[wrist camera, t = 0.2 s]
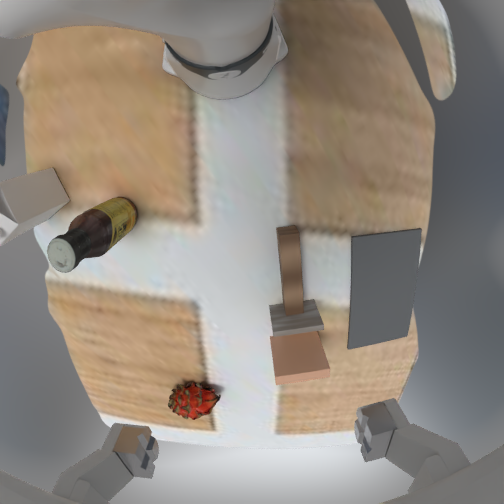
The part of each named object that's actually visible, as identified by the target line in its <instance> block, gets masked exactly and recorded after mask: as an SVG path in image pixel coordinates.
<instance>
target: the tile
mask: <svg viewBox="0 0 504 504" xmlns="http://www.w3.org/2000/svg"><path fill="white" fill-rule="evenodd" d="M270 341H271V349H272V357H273V365H274V373H275V381H276V385H280V384H288V383H295V382H302V381H308V380H314V379H320V378H326V377H330V367H329V364H328V361H327V358H326V355H325V352H324V349H323V346H322V344H321V341H320V338H319V335H318V332H317V331H313V332H306V333H299V334H292V335H285V336H277V337H274V336H270Z"/></svg>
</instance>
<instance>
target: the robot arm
mask: <svg viewBox="0 0 504 504" xmlns="http://www.w3.org/2000/svg"><path fill="white" fill-rule="evenodd" d="M274 5H275V0H0V37H4V38H11V39H13V38H22V37H26V36H29V35H32V34H36V33H40V32H44V31H48V30H52V29H58V28H64V27H72V26H109V27H118V28H125V29H131V30H137V31H142V32H147V33H151V34H155V35H158V36H160V37H161V38H162V40H163V43H165V48H164V53H163V54H164V56H163V64H162V66H163V69H164V71H165V72H167V73H168V74H170V75H173V76H176V77H179V78H180V79H182V80H183V81H184V82H185V83H186V84H187V85H188V86H189V87H190V88H191V89H192V90H194V91H195V92H197V93H199V94H201V95H203V96H206V97H209V98H214V99H231V98H236V97H240V96H243V95H245V94H247V93H249V92H251V91H253V90H254V89H256V88H257V87H258V86H259V85H260V84H261V83H262V82H263V81H264V80H265V79H266V77H267V76H268V74H269V72H270V71H271V69H272V67H273V66H274V65H275V64H276V63H278V62H279V61H280V60H282V59H283V58H284V57H285V56H286V55H287V53H288V47H287V45H286V42H285V40H284V37H283V35H282V32H281V30H280V28H279V25H278V23H277V21H276V18H275V16H274V14H273V9H274ZM356 415H357V417H358V419H357V420H356V421H355V435H356V439H357V442H358V443H360V444H362V446H361V453H362V455H363V458H364V460H365V462H368V461H372V460H376V459H379V458H383V457H386V459H388V460H389V461H390V462H392V463H393V464H395V465H396V466H398V467H399V468H400V469H402V470H403V471H405V472H406V473H408V474H409V475H411V476H412V477H414V478H415V479H414V481H413V483H412V485H411V486H410V488H409V490H408V494H406V495H403V496H400V497H398V498H395V499H392V500H389V501H386V502H383V503H380V504H504V444H503V445H502V446H500V447H499V448H497V449H496V450H494V451H492V452H491V453H489V454H488V455H486V456H484V457H483V458H481V459H479V460H478V461H476V462H474V463H473V464H470V462H469V460H468V459H467V457H466V456H465V454H464V452H463V451H462V449H461V448H460V446H459V445H458V443H455V442H453V441H451V440H448V439H446V438H444V437H442V436H439V435H437V434H435V433H433V432H430V431H428V430H426V429H424V428H422V427H420V426H417V425H415V424H411V425H410V423H409V422H408V420H407V418H406V416H405V415H404V413H403V411H402V410H401V408H400V406H399V404H398V403H397V401H396V399H394V398H392V399H389V400H385V401H382V402H378V403H374V404H370V405H367V406H363V407H359V408H358V409H357V412H356ZM151 433H152V431H151V430H150V428H149V427H148V426H139V425H129V424H120V423H114V424H113V425H112V427H111V429H110V431H109V433H108V436H107V438H106V440H105V442H104V444H103V446H102V449H101V450H100V449H98V450H96V451H95V452H93V453H92V454H90V455H89V456H87V457H86V458H84V459H83V460H81V461H80V462H78V463H76V464H75V465H73V466H72V467H70V468H69V469H67V470H65V471H64V472H62V473H61V475H60V477H59V479H58V481H57V483H56V485H55V487H54V489H53V491H52V493H50V492H47V491H45V490H42V489H40V488H38V487H35V486H33V485H31V484H29V483H27V482H25V481H22V480H20V479H18V478H16V477H14V476H12V475H10V474H8V473H6V472H5V471H3V470H1V469H0V504H110V503H109V502H108V501H109V500H111V499H112V498H113V497H114V496H115V495H116V494H117V493H118V492H119V491H120V490H121V489H122V488H123V487H124V486H125V485H126V484H127V483H128V482H130V481H131V480H132V479H133V477H143V478H152V477H153V472H154V469H155V465H154V464H153V462H154V461H155V460H156V459H157V458H158V454H159V447H158V443H157V441H156V439H155V438H154V437H152V436H151Z"/></svg>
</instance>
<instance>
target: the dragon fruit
mask: <svg viewBox="0 0 504 504" xmlns="http://www.w3.org/2000/svg"><path fill="white" fill-rule="evenodd" d="M190 385H191V387H189V386H190ZM196 385H197V386H198V387H195V383H194V382H192V383H188V384H187V386H185V387H184V386H182V385H178V386H180V388H181V390H177V389H173V390H172V391H173V392H174V393H173V394H172V395H170V397H169V399H170V400H169V403H168V406H169V408H170V409H173V412H174V413H176V414H178V415H179V416H180V415H182V417H183V418H185V419H188V417H190V418H192V419H193V420H195V419H197V418H200V417H201V416H203V415H208V414H210V413H211V411H212V408H213V407H214V406H215V405H216V403H217V402H218V401H219V399H220V397H221V396H220V395H219V397H218V396H217V395H215V390H214V389H213V388H210V387H207V388H206V389H211V391H208V390H205V389H202V388H203V387H202V385H201V383H196ZM178 386H177V388H178ZM188 387H189V388H188Z"/></svg>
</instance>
